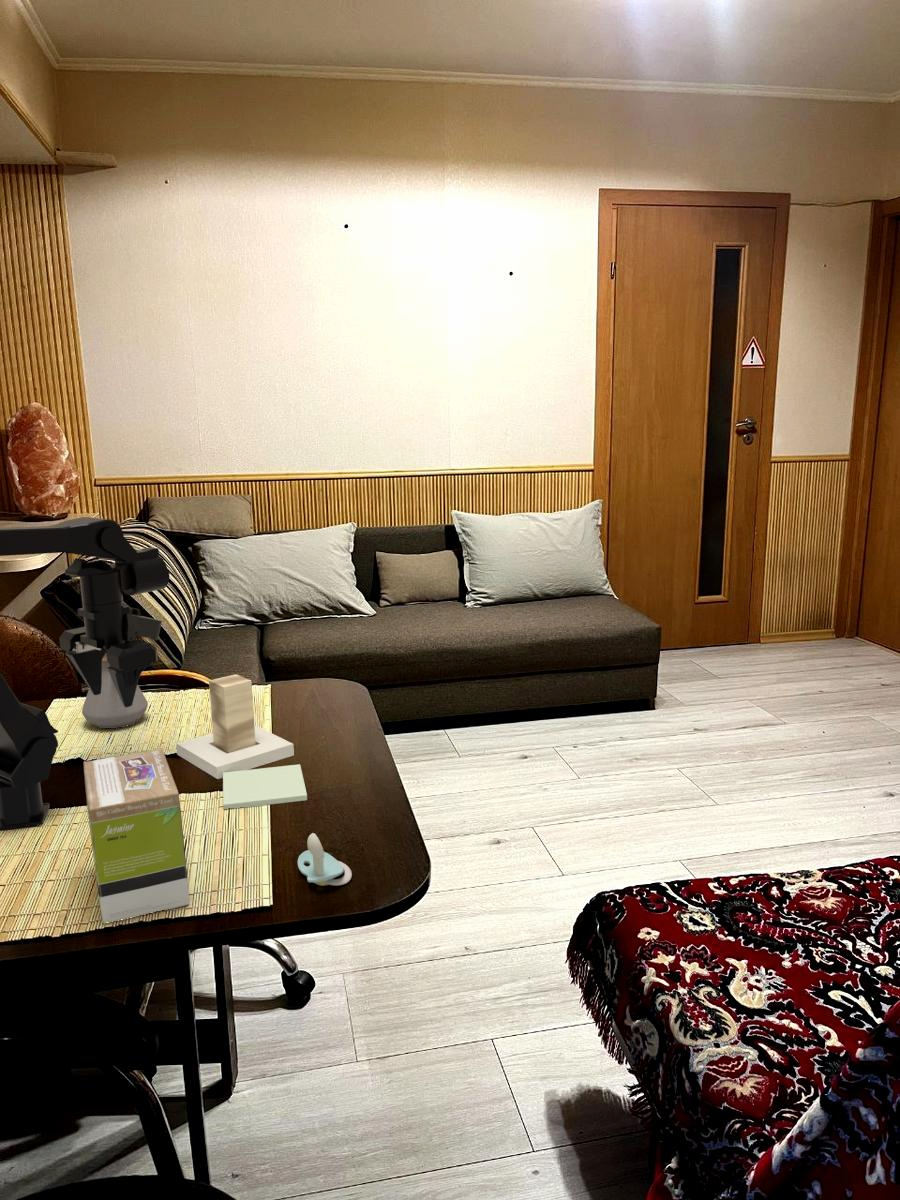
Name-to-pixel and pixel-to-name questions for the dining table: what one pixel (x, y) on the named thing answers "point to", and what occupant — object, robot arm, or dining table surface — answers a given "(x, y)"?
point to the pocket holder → (234, 753)
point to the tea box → (136, 835)
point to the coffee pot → (112, 704)
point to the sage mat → (263, 786)
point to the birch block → (232, 713)
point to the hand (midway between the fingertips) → (112, 700)
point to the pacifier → (322, 865)
